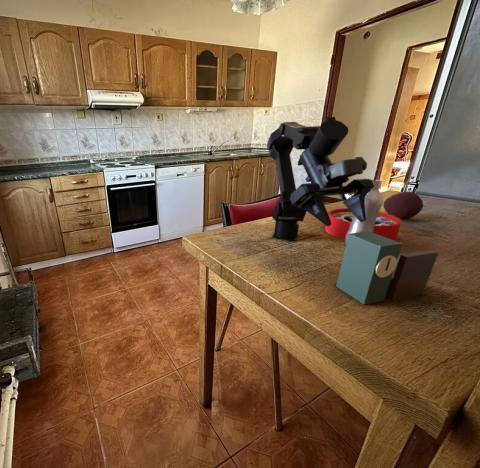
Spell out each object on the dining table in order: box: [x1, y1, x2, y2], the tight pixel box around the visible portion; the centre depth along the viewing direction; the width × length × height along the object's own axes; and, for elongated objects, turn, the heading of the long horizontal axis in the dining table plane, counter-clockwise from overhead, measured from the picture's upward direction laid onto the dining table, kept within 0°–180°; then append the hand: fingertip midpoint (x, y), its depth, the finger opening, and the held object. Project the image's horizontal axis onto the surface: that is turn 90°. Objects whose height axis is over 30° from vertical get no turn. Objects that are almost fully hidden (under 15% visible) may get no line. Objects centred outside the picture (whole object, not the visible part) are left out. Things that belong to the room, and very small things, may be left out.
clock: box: [335, 231, 403, 305], centre depth 53 cm, size 8×5×13 cm, turn 12°
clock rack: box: [385, 249, 439, 301], centre depth 57 cm, size 10×8×10 cm
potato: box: [382, 191, 424, 220], centre depth 98 cm, size 11×13×10 cm
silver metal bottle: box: [344, 179, 384, 244], centre depth 73 cm, size 6×7×20 cm
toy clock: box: [324, 207, 403, 241], centre depth 87 cm, size 20×6×20 cm
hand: (346, 223), depth 58 cm, fingers open, 9 cm apart
